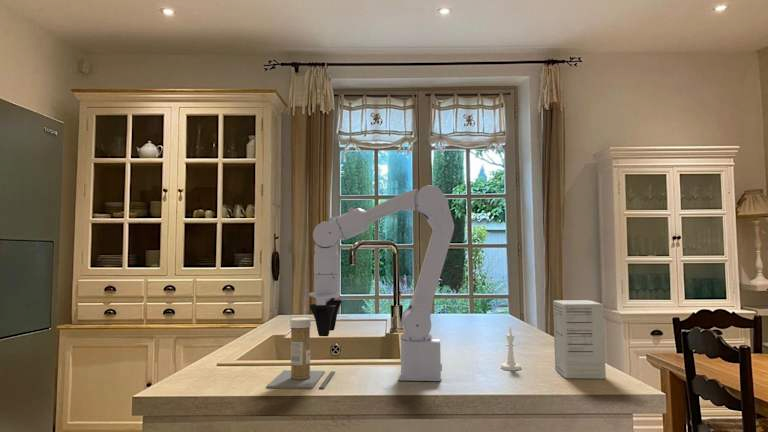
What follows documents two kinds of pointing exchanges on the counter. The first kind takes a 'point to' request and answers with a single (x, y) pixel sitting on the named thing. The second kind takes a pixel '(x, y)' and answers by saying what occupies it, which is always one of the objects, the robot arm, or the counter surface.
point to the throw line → (327, 380)
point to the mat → (287, 382)
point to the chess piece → (510, 354)
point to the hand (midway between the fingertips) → (326, 333)
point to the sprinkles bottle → (300, 348)
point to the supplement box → (579, 339)
